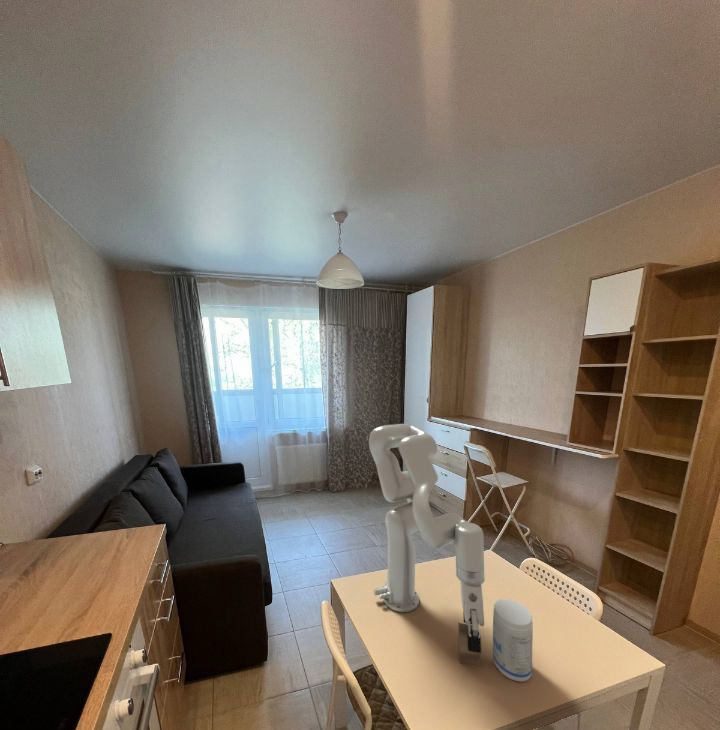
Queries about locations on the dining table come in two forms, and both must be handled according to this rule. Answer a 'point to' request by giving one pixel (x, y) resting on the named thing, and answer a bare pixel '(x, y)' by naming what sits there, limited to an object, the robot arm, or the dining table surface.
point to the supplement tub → (512, 639)
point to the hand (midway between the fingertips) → (471, 636)
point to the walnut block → (466, 648)
